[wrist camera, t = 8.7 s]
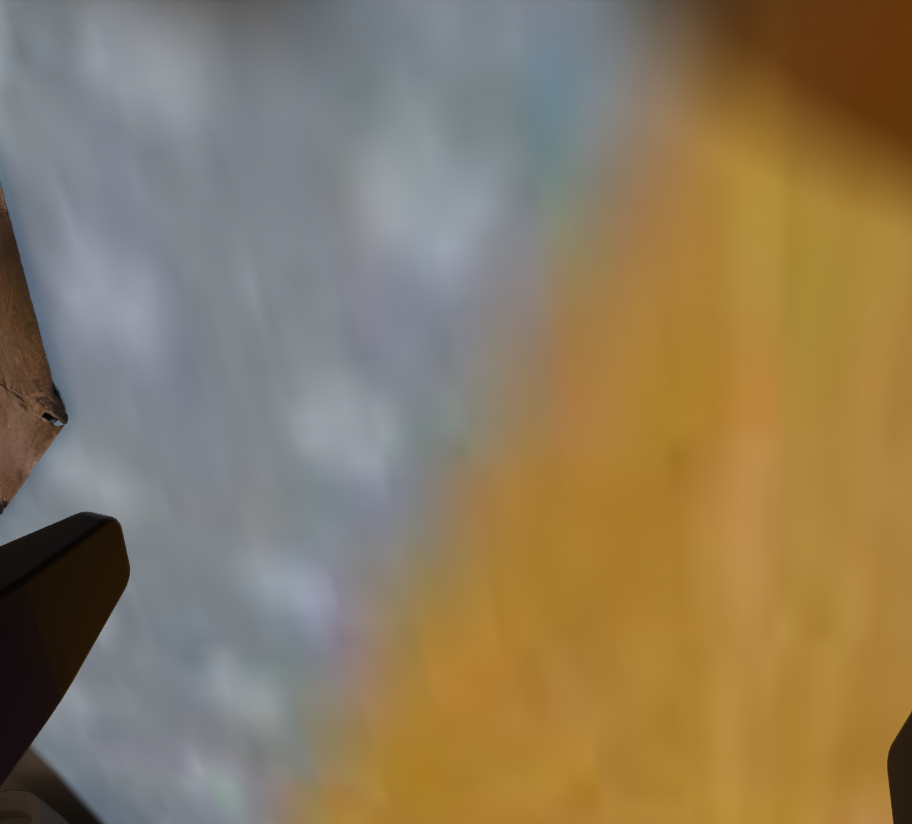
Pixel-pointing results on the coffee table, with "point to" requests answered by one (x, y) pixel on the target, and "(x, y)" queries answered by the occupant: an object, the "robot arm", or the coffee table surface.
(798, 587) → the coffee table surface
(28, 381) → the wooden fragment
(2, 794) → the bluetooth speaker
